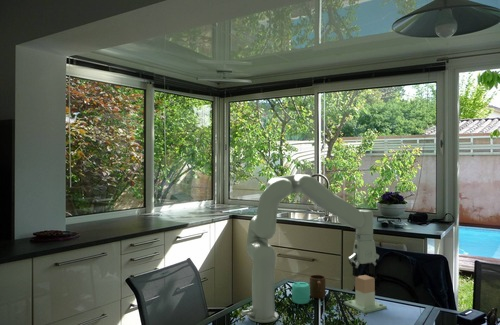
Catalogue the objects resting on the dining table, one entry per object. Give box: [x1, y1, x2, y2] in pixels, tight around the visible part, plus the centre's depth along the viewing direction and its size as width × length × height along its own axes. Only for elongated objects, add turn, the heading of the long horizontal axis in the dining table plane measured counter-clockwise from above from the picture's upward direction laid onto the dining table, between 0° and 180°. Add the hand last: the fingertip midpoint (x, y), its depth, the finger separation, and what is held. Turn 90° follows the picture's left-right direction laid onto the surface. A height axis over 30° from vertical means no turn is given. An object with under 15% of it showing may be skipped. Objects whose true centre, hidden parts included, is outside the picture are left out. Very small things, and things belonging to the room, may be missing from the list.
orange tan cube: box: [354, 274, 376, 294], centre depth 181 cm, size 6×6×6 cm
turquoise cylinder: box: [291, 281, 311, 305], centre depth 188 cm, size 8×8×8 cm
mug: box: [309, 274, 326, 299], centre depth 193 cm, size 12×8×9 cm, turn 178°
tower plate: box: [343, 289, 387, 314], centre depth 181 cm, size 13×13×7 cm
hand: (363, 274), depth 181 cm, fingers open, 9 cm apart
